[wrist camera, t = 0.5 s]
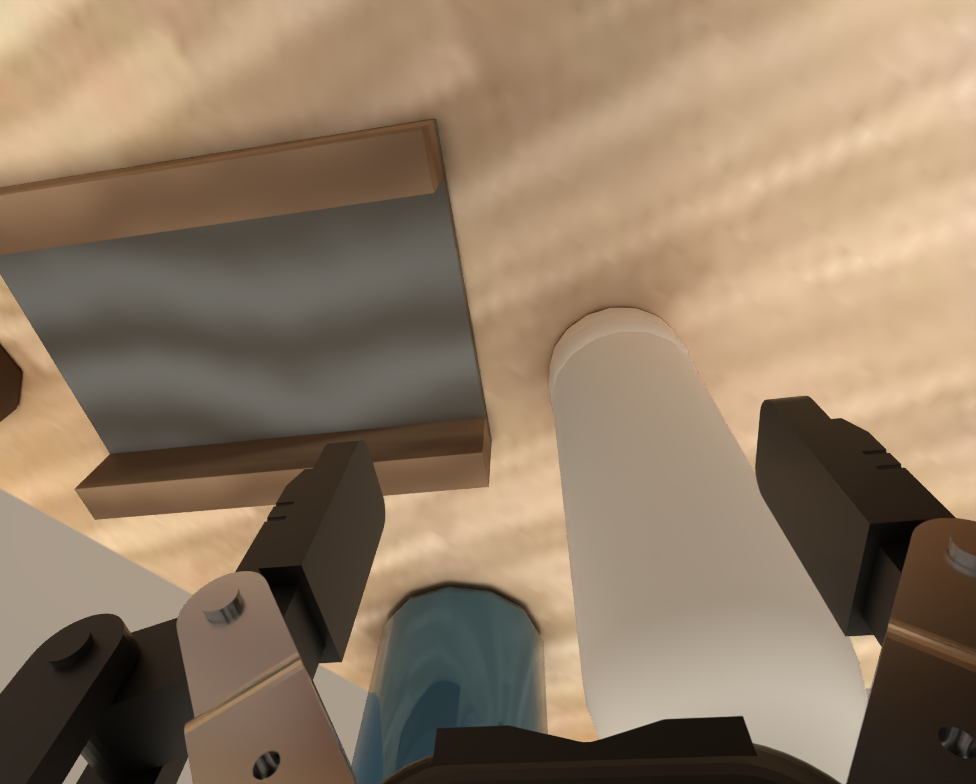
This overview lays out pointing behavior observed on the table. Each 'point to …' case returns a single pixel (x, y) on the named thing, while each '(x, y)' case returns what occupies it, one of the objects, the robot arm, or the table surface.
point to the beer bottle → (8, 384)
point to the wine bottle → (449, 676)
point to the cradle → (256, 318)
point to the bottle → (686, 556)
